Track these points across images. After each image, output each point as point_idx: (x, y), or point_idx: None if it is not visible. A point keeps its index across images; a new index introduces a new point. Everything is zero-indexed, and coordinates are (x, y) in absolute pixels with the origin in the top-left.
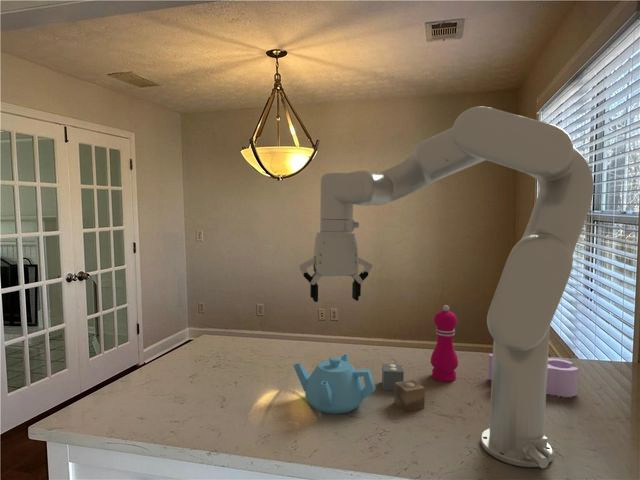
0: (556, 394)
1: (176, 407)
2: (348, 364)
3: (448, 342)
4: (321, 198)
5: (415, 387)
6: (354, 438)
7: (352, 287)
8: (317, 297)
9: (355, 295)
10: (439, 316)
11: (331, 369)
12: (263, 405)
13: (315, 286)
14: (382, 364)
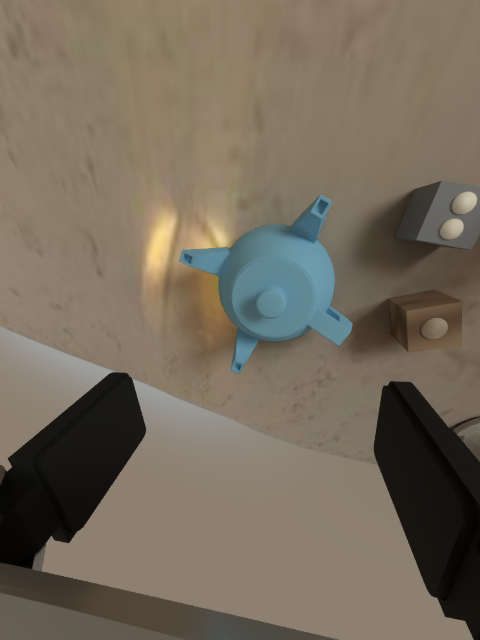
0: None
1: (39, 266)
2: (306, 296)
3: None
4: None
5: (440, 340)
6: (280, 385)
7: (426, 451)
8: (131, 451)
9: (385, 480)
10: None
11: (259, 320)
12: (158, 277)
13: (65, 526)
14: (440, 185)
